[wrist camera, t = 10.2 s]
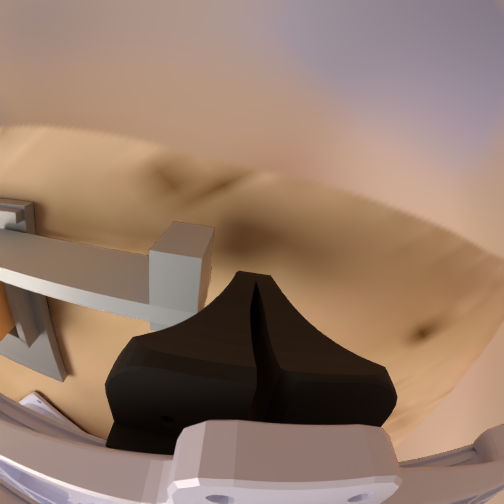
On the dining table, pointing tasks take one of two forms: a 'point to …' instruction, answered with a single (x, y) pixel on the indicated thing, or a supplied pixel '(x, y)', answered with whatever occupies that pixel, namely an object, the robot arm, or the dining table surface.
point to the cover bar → (116, 273)
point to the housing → (29, 308)
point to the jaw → (5, 314)
